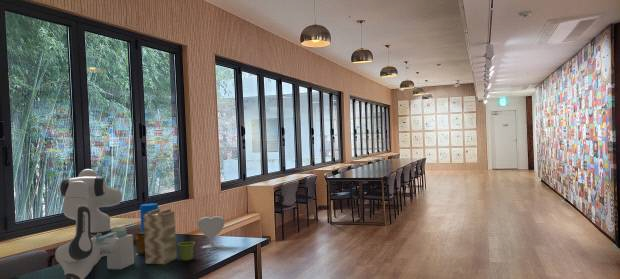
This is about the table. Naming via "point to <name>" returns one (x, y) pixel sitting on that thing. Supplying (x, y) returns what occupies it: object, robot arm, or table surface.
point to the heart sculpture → (211, 228)
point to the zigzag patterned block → (159, 237)
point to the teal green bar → (118, 229)
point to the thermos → (145, 209)
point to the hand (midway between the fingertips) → (108, 233)
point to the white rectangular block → (122, 254)
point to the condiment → (140, 243)
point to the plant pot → (186, 250)
